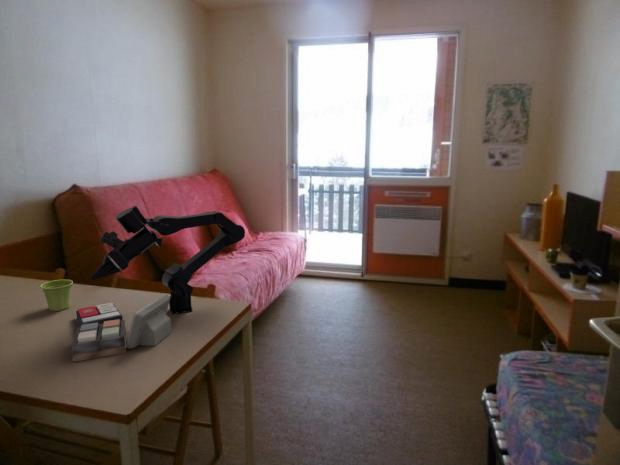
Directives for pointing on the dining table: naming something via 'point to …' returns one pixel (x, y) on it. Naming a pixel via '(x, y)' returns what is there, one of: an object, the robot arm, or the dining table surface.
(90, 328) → the key slate
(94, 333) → the key cream
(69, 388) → the dining table surface
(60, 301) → the plant pot
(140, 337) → the digital clock
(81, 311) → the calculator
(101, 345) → the keypad
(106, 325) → the key terracotta
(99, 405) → the dining table surface
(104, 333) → the key sage
